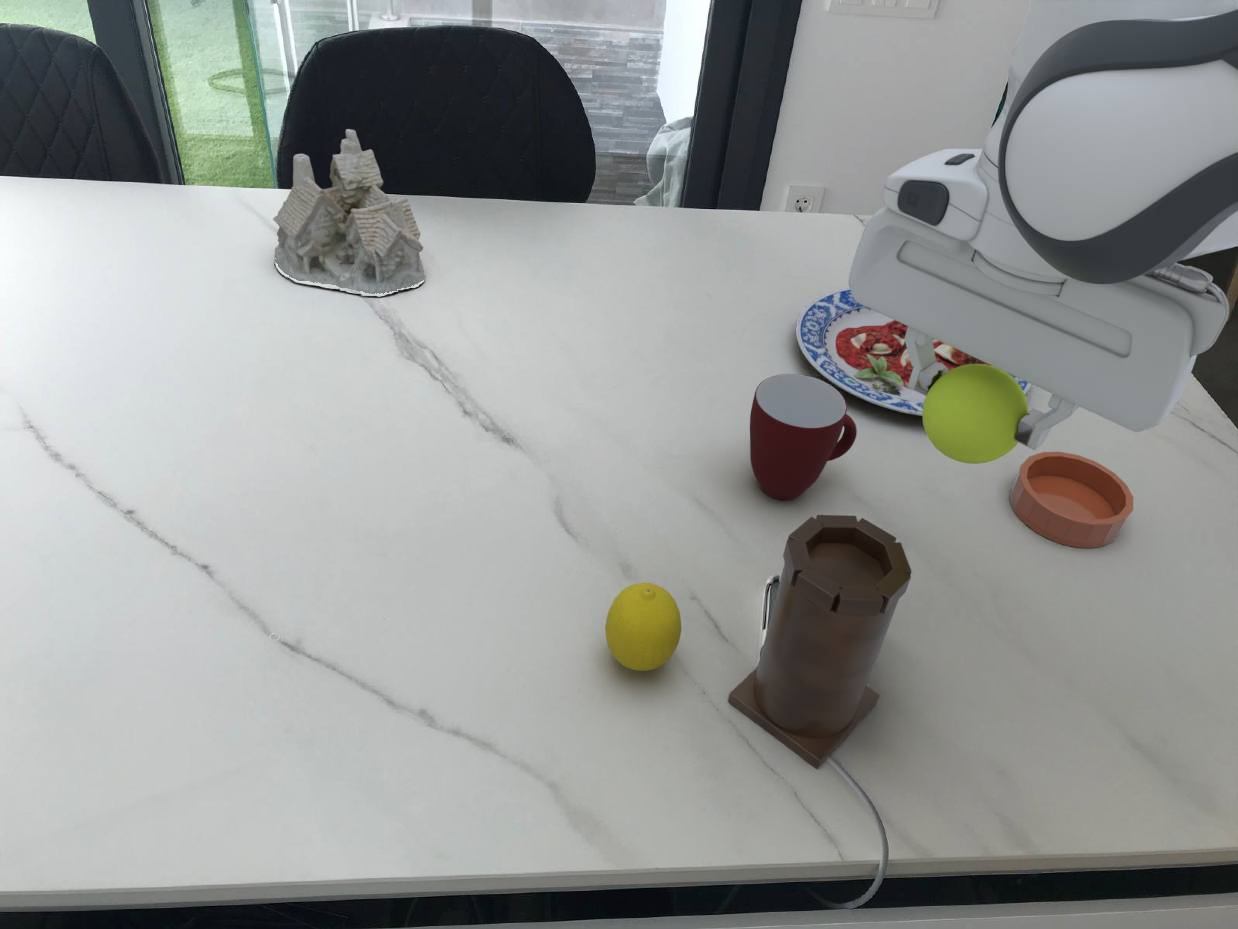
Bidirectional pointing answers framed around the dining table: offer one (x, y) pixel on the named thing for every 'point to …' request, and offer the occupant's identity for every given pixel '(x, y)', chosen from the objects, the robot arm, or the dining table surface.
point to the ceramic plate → (868, 352)
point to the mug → (796, 432)
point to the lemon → (643, 626)
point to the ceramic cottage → (348, 227)
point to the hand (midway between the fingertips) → (973, 414)
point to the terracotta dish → (1071, 499)
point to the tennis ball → (974, 413)
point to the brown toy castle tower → (825, 634)
